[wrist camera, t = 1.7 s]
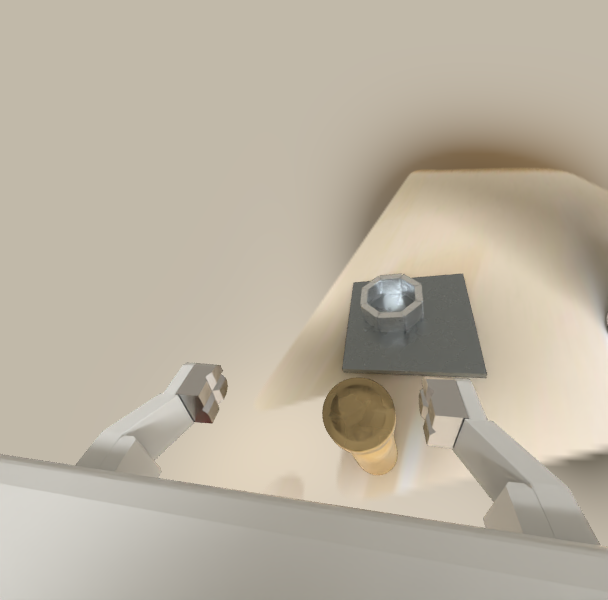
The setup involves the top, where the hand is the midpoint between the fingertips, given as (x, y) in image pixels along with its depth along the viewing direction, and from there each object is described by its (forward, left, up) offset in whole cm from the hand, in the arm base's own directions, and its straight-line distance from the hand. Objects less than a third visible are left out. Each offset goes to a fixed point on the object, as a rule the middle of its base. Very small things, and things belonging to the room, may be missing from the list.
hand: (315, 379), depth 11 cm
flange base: (-3, -23, -27) cm, 36 cm away
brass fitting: (+1, -4, -27) cm, 27 cm away
